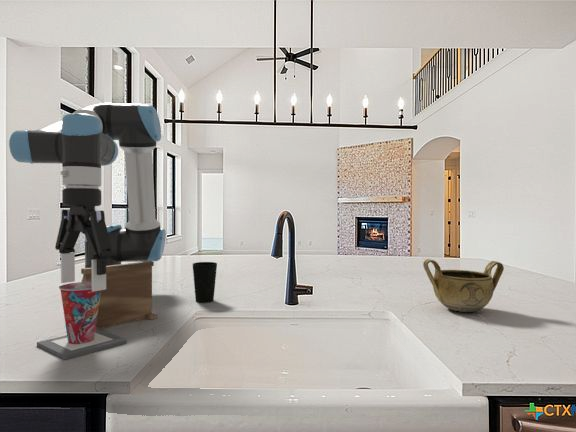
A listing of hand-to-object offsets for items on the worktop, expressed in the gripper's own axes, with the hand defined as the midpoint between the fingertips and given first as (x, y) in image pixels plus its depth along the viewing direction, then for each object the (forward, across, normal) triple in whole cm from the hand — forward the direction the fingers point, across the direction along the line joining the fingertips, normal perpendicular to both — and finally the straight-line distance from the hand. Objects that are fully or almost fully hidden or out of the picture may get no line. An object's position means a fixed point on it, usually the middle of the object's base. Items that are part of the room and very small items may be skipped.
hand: (82, 286), depth 90 cm
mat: (+13, 0, 0) cm, 13 cm away
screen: (+13, -9, +14) cm, 21 cm away
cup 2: (+13, -12, +45) cm, 48 cm away
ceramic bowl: (+13, +56, +85) cm, 103 cm away
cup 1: (+12, 0, 0) cm, 12 cm away
